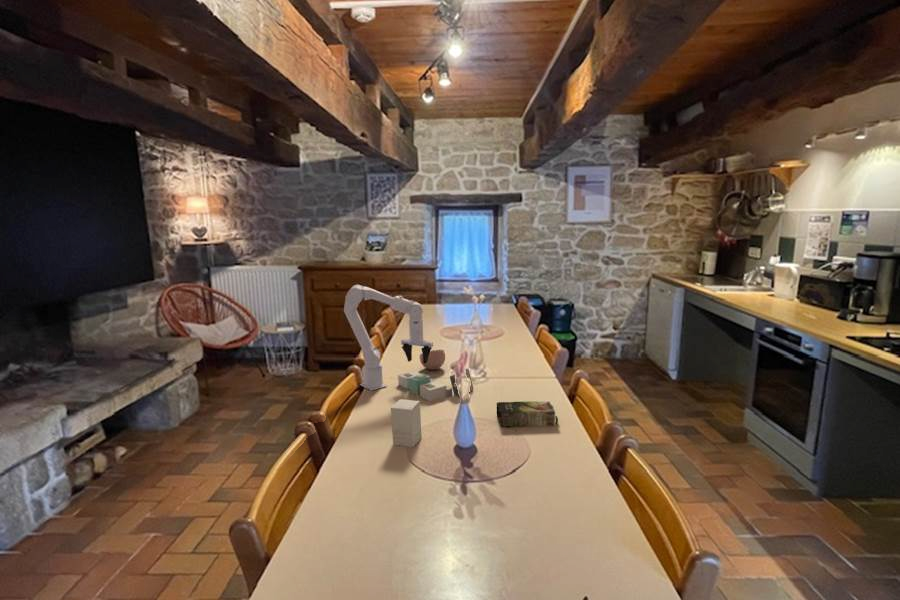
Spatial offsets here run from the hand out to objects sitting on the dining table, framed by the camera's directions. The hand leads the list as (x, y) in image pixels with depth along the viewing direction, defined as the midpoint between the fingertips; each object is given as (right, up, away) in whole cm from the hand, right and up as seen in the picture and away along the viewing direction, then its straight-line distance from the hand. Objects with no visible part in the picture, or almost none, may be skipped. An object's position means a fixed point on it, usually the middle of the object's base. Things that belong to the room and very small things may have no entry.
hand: (417, 361), depth 199 cm
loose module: (+2, -11, -6) cm, 13 cm away
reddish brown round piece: (+6, -6, +21) cm, 22 cm away
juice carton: (+41, -16, -37) cm, 57 cm away
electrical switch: (+19, -12, -9) cm, 24 cm away
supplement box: (0, -19, -49) cm, 52 cm away
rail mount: (+3, -11, -5) cm, 12 cm away
